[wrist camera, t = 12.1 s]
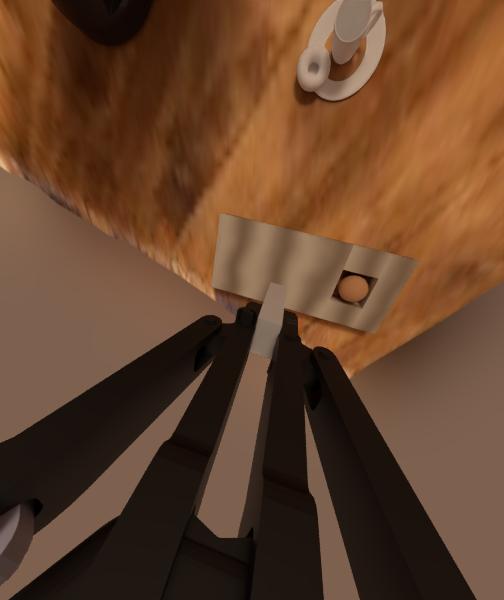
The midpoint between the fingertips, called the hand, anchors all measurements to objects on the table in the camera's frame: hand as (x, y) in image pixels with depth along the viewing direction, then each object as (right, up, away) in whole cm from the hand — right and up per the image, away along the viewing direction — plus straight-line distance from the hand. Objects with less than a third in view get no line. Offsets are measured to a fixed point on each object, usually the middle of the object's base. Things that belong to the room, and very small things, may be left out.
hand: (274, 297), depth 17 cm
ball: (+13, +1, +11) cm, 17 cm away
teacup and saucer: (+6, +29, +3) cm, 30 cm away
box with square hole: (+6, +4, +13) cm, 15 cm away
